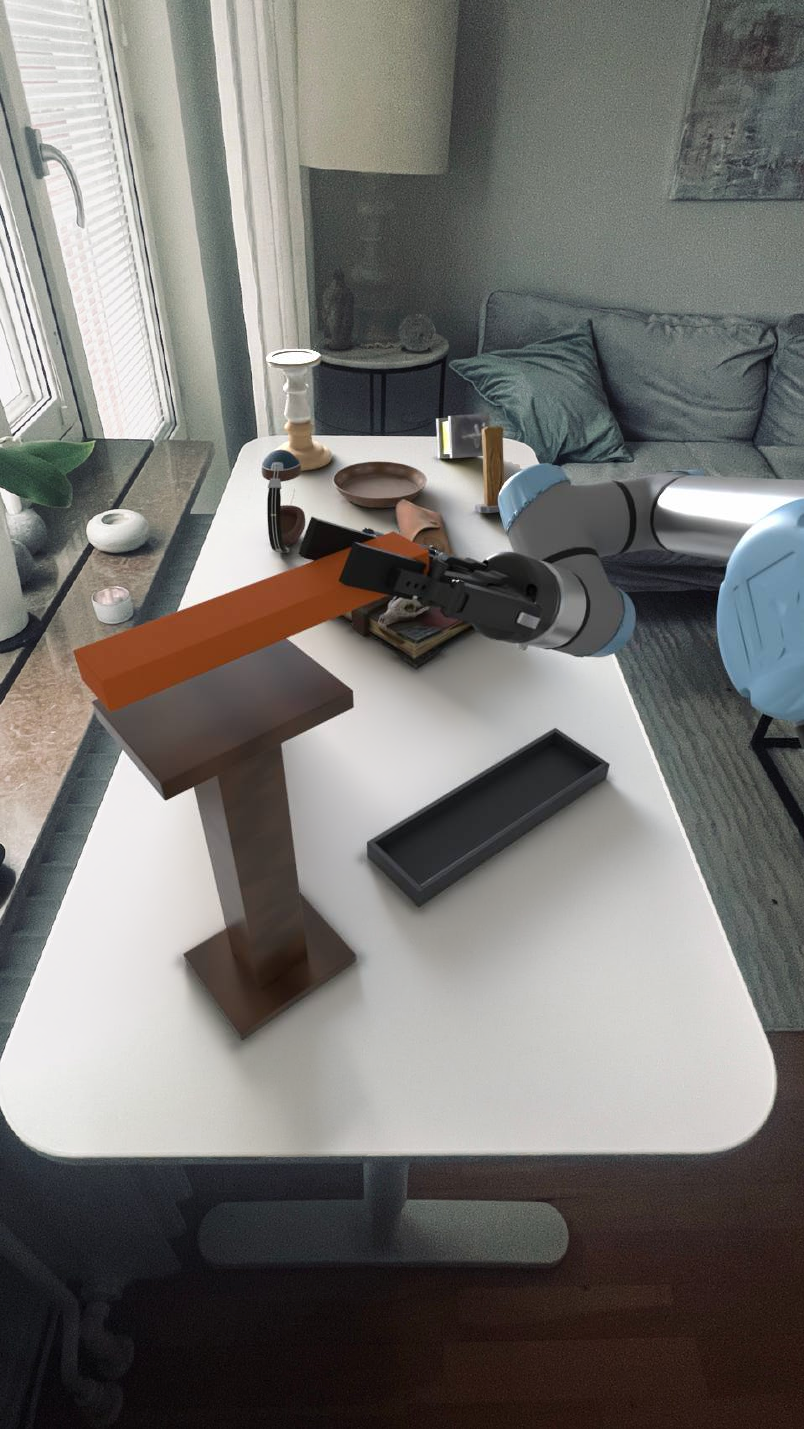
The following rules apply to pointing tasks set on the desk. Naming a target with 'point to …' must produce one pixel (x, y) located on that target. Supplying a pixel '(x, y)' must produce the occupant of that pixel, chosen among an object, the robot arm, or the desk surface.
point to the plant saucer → (379, 483)
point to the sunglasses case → (421, 526)
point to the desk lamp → (475, 450)
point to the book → (408, 627)
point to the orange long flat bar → (226, 627)
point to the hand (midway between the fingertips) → (328, 550)
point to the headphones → (281, 519)
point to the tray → (485, 815)
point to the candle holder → (299, 407)
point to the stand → (244, 818)
